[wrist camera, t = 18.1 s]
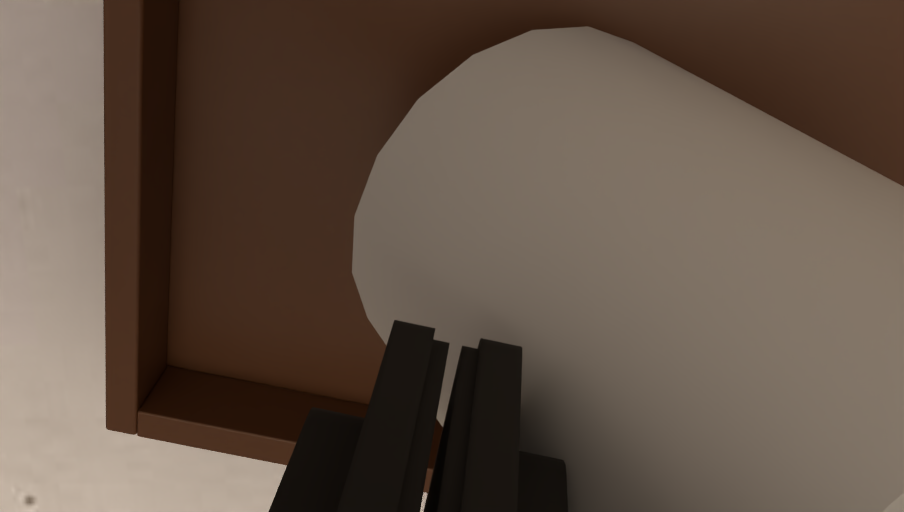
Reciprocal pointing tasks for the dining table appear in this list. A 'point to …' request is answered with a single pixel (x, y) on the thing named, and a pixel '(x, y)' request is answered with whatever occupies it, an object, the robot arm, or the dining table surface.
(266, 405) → the tray
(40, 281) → the dining table surface
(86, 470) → the dining table surface
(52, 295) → the dining table surface
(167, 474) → the dining table surface
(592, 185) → the can
